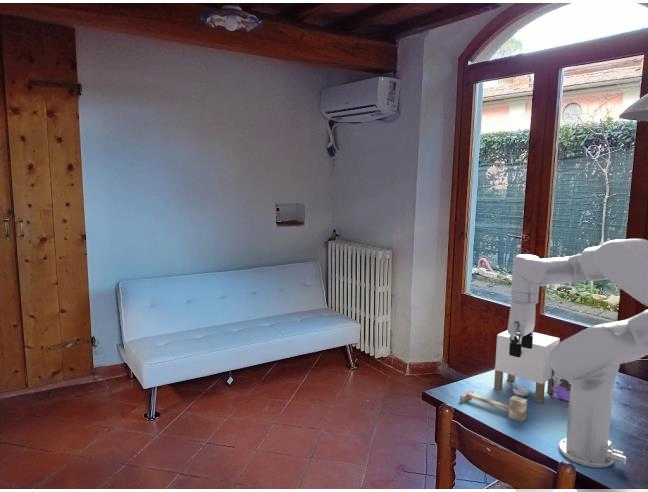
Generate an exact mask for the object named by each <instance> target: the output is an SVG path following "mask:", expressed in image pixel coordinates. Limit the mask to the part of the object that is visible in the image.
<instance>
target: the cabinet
mask: <svg viewBox="0 0 648 492" xmlns="http://www.w3.org/2000/svg"><path fill="white" fill-rule="evenodd" d="M516 333H517V332H516ZM519 334H521V333H519ZM496 336H497V337H496V349H495V351H496V352H495V366H494V379H493V380H494V381H493V382H494V383H493V388H494V387H495V388H494V389H496V388H498V389H497V390H499V389H500V390H502V389H503V383H504V382H503V381H504V373H505V374H507V381H511V382H514V381H515V380H516V377H518V378H521V379H525V380H527V381H531V382H533V383H535V394H534V402H536V403H539V404H543V402H544V399H545V384H546V382H547V390H546V393H549V394H551V390H552V378H553V369H552V366H551V363H550V355H551V352H552V350H553V348H554V347H555V346H556V345H557V344H558V343H560V342H561V341H560V337H557V336H552V335H547V334H544V333H539V332H534V331H533V343H532V348H531V349H529V348H524V347H521V357H515V356H511V355H509V347H510V338H509V337H510V334H509V333H508V329H506V330H505V331H502V332H499V333H498V334H496ZM516 337H517V339H518V338H519V337H518V336H516ZM520 344H521V342H520Z"/></svg>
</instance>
